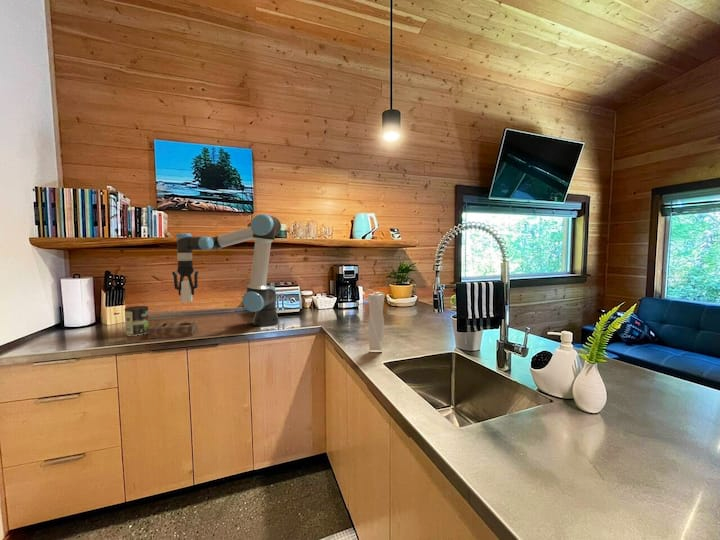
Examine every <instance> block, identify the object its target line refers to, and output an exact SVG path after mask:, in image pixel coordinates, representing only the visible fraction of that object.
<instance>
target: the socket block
mask: <svg viewBox="0 0 720 540" xmlns="http://www.w3.org/2000/svg"><path fill="white" fill-rule="evenodd" d="M198 323H199V322H198V320H190V321H186V320H185V321H171V322H168V321H167V322H166V321H165V322H157V323H155V324H153V325H152V326H151V327H149V329H148V333H147V338H148V340H151V339H150V338H156V339H165V338H164V337H171V338H183V337H184V336H185V337H193V336H194V335H195V333H196V332H197V331H198V329H199V328H198V327H199V325H198Z"/></svg>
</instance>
